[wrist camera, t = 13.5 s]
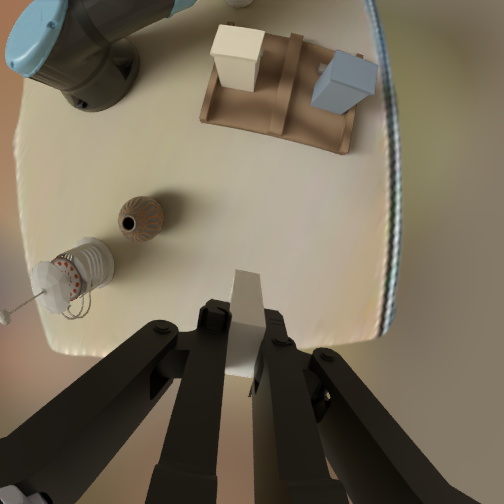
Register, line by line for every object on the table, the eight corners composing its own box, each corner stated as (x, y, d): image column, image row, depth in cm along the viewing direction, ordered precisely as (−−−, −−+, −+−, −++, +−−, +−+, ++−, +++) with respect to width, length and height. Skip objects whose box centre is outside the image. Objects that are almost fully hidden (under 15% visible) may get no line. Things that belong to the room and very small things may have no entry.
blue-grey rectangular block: (341, 116, 40) (374, 94, 27) (308, 106, 39) (331, 78, 27) (345, 92, 39) (377, 65, 26) (313, 82, 38) (336, 49, 26)
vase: (125, 202, 44) (101, 206, 35) (162, 190, 44) (144, 192, 35) (136, 241, 45) (114, 253, 37) (173, 231, 45) (157, 242, 37)
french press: (105, 231, 45) (6, 272, 21) (124, 293, 48) (47, 370, 23) (65, 243, 45) (-31, 285, 21) (84, 300, 48) (5, 368, 24)
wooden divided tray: (341, 155, 43) (349, 153, 39) (201, 122, 41) (197, 117, 38) (357, 63, 39) (364, 56, 35) (227, 31, 37) (226, 21, 34)
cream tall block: (254, 93, 39) (256, 60, 26) (220, 87, 38) (209, 52, 26) (260, 69, 38) (265, 31, 25) (226, 64, 38) (219, 24, 25)
